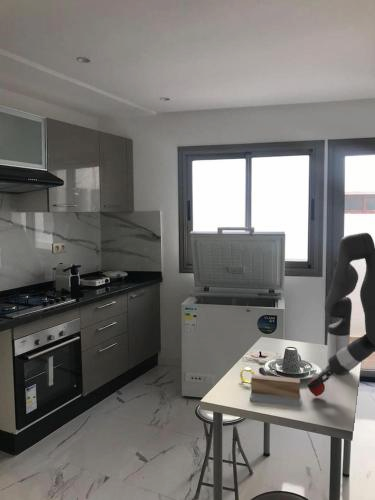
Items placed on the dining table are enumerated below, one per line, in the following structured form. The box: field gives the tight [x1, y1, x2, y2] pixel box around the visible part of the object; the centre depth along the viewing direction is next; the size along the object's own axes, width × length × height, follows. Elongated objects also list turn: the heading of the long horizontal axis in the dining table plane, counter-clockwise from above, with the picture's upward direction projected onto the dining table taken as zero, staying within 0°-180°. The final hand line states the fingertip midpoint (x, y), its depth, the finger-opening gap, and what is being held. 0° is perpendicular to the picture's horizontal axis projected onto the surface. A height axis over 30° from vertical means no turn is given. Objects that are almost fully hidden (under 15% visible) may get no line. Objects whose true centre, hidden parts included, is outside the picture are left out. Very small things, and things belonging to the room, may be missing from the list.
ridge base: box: [249, 392, 300, 407], centre depth 164 cm, size 12×18×1 cm, turn 75°
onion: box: [308, 375, 326, 397], centre depth 163 cm, size 6×6×8 cm
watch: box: [239, 366, 256, 384], centre depth 177 cm, size 6×3×6 cm, turn 61°
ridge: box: [250, 373, 301, 398], centre depth 164 cm, size 4×18×6 cm, turn 75°
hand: (312, 384), depth 164 cm, fingers closed on onion, 5 cm apart
